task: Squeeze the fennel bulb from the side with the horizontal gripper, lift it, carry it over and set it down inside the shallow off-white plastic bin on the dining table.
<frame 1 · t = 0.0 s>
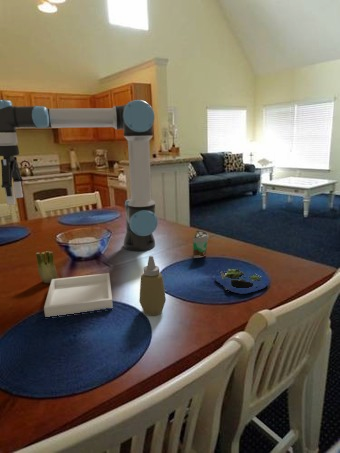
hand: (15, 201, 126), 28 cm above the table, tool pointing down, fingers open, 13 cm apart
food container: (201, 255, 143), on the table
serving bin: (81, 298, 108), on the table
fennel bulb: (49, 282, 121), on the table
squeeze bottle: (153, 311, 100), on the table
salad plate: (240, 284, 117), on the table
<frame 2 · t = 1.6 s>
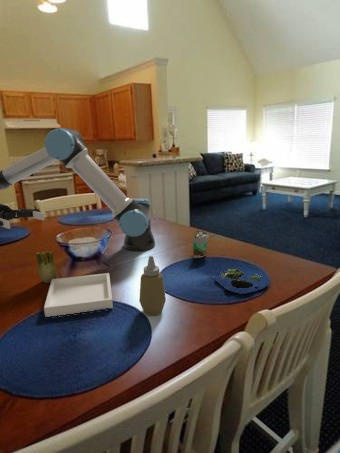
hand: (26, 220, 120), 22 cm above the table, tool horizontal, fingers open, 13 cm apart
nothing on the table moved.
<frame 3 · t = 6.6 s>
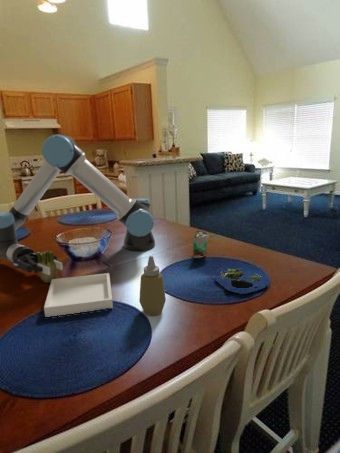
hand: (55, 268, 116), 7 cm above the table, tool horizontal, fingers closed on fennel bulb, 4 cm apart
fennel bulb: (49, 281, 121), on the table, touching gripper
everything else where it was.
when the fingers open (9 cm above the table, at t = 11.3 s): fennel bulb drops 2 cm, resting on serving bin.
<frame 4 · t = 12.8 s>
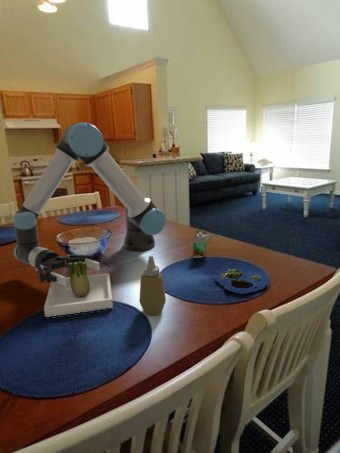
hand: (82, 273, 104), 10 cm above the table, tool horizontal, fingers open, 13 cm apart
fennel bulb: (81, 295, 108), point 1 cm above the table, touching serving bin
everything else where it was.
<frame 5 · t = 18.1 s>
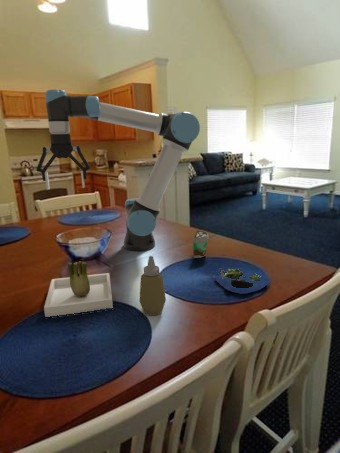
hand: (66, 188, 130), 32 cm above the table, tool pointing down, fingers open, 13 cm apart
nothing on the table moved.
at the end: fennel bulb inside the target area on the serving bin (0.4 cm from its centre), point 0.8 cm above the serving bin's base; the gripper is holding nothing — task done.
